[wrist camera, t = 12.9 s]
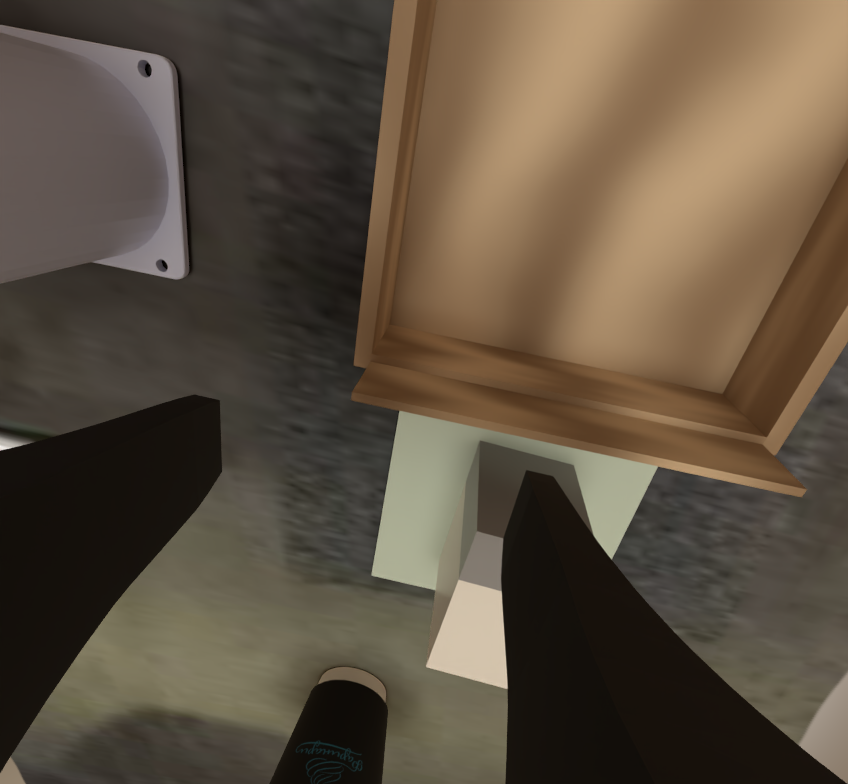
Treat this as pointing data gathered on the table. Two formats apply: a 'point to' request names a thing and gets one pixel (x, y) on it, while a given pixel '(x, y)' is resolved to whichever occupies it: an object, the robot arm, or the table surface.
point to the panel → (445, 479)
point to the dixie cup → (338, 732)
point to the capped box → (484, 563)
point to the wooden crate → (612, 225)
